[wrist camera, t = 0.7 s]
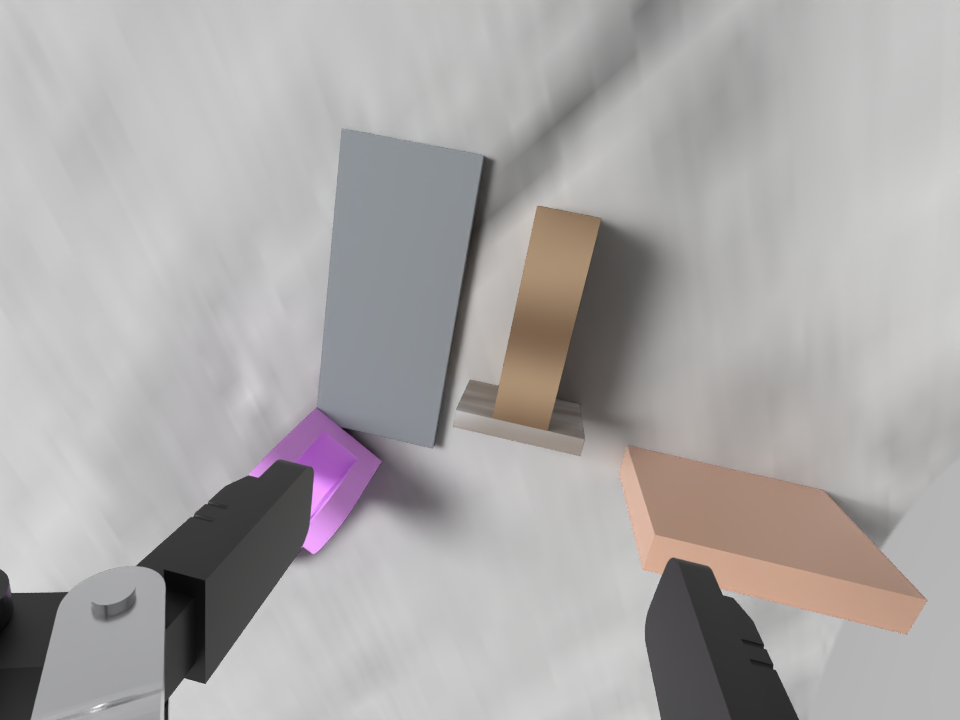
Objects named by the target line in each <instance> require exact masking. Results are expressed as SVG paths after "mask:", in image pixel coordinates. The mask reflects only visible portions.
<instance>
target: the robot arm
mask: <svg viewBox="0 0 960 720" xmlns="http://www.w3.org/2000/svg"><path fill="white" fill-rule="evenodd" d="M313 482H314V470H313V468H312V467H310V466H306V465H302V464H298V463H294V462H290V461H286V460H282V459H279V460H277V461H276V462H274V463H273V464H272V465H271V466H270V467H269V468H268V469H267V470H266V471H265V472H264V473H263V474H262V475H261V476H260V477H259V478H257V477H253V476H246V477H244V478H242V479H240V480H238V481H236V482H233V483H231V484H229V485H227V486H225V487H224V488H223V489H222V490H221V491H219V492H218V493H217V494H216V495H215V496H214V497H213V498H212V499H211V500H209V502H208V504H205V505H204V506H203V507H202V508H200V509H199V510H198V511H197V512H196V513H195V514H194V517H190V518H189V519H188V520H187V521H186V522H185V523H184V524H182V525H181V526H180V527H179V528H178V529H177V530H176V531H175V532H173V533H172V534H171V535H170V536H169V537H168V538H167V539H166V540H164V541H163V542H162V543H161V544H160V545H159V546H158V547H157V548H156V549H154V550H153V551H152V552H151V553H150V554H149V555H148V556H147V557H145V558H144V559H143V560H142V561H141V562H140V563H139V564H138V565H136V566H126V567H118V568H114V569H110V570H106V571H103V572H100V573H98V574H96V575H93V576H91V577H89V578H88V579H86V580H84V581H82V582H81V583H79V584H78V585H77V586H75V587H74V588H73V589H72V590H71V591H69V592H54V593H11V590H10V584H9V579H8V576H7V575H6V573H5V572H4V571H2V570H0V720H169V697H170V696H171V694H172V693H173V692H174V691H175V689H176V688H177V687H178V685H179V684H180V683H181V681H182V680H183V679H184V678H186V679H190V680H193V681H197V682H200V683H204V684H206V682H207V681H208V680H209V678H210V677H211V675H212V674H213V673H214V671H215V670H216V668H217V667H218V665H219V664H220V663H221V661H222V660H223V658H224V657H225V656H226V654H227V653H228V651H229V650H230V649H231V647H232V646H233V644H234V643H235V642H236V640H237V639H238V637H239V636H240V635H241V633H242V632H243V630H244V629H245V627H246V626H247V625H248V623H249V622H250V620H251V619H252V618H253V616H254V615H255V613H256V612H257V611H258V609H259V608H260V606H261V605H262V604H263V602H264V601H265V599H266V598H267V597H268V595H269V594H270V592H271V591H272V589H273V588H274V587H275V585H276V584H277V582H278V581H279V580H280V578H281V577H282V575H283V574H284V573H285V571H286V570H287V568H288V567H289V566H290V564H291V563H292V561H293V560H294V559H295V557H296V556H297V554H298V553H299V551H300V550H301V548H302V546H303V544H304V542H305V539H306V537H307V534H308V530H309V525H310V517H311V505H312V493H313ZM645 642H646V647H647V652H648V657H649V662H650V667H651V672H652V677H653V681H654V686H655V691H656V696H657V701H658V706H659V711H660V716H661V720H799V719H798V717H797V714H796V712H795V710H794V708H793V706H792V704H791V702H790V699H789V697H788V695H787V693H786V691H785V689H784V687H783V684H782V682H781V680H780V678H779V676H778V674H777V672H776V670H773V663H772V661H771V659H770V657H769V654H768V652H767V650H766V649H764V644H763V641H762V639H761V637H760V635H759V633H758V631H757V629H756V626H755V624H754V622H753V620H752V619H751V618H750V617H749V616H748V615H747V613H746V612H745V611H744V610H743V609H742V608H741V606H740V605H739V604H738V603H737V602H736V601H735V599H734V598H731V597H727V596H723V594H722V592H721V590H720V587H719V585H718V583H717V580H716V578H715V575H714V573H713V571H712V569H711V568H710V567H709V566H706V565H702V564H698V563H694V562H690V561H686V560H682V559H678V558H674V557H673V558H670V559H669V561H668V562H667V564H666V566H665V569H664V571H663V574H662V577H661V579H660V582H659V584H658V587H657V589H656V592H655V594H654V597H653V600H652V602H651V605H650V607H649V610H648V613H647V617H646V624H645Z"/></svg>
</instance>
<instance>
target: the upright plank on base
mask: <svg viewBox="0 0 960 720" xmlns="http://www.w3.org/2000/svg"><path fill="white" fill-rule="evenodd" d="M600 222H601V218H597V217H593V216H588V215H583V214H578V213H572V212H567V211H562V210H557V209H552V208H547V207H542V206H537V209H536V214H535V219H534V223H533V228H532V233H531V237H530V242H529V247H528V252H527V256H526V261H525V266H524V270H523V275H522V280H521V285H520V289H519V294H518V299H517V303H516V308H515V313H514V318H513V322H512V327H511V332H510V337H509V341H508V346H507V351H506V355H505V360H504V365H503V370H502V374H501V379H500V384H499V386H496V385H492V384H487V383H483V382H478V381H474V380H470V381H469V383H468V385H467V387H466V389H465V391H464V393H463V396H462V398H461V400H460V402H459V404H458V406H457V408H456V411H455V417H454V422H453V427H456V428H461V429H465V430H469V431H474V432H478V433H482V434H487V435H491V436H495V437H499V438H504V439H508V440H512V441H517V442H521V443H525V444H530V445H534V446H538V447H543V448H547V449H551V450H556V451H560V452H564V453H569V454H573V455H577V456H581V452H582V448H583V445H584V441H585V436H584V429H583V422H582V415H581V408H580V404H577V403H572V402H568V401H563V400H559V399H556V396H557V392H558V388H559V384H560V380H561V376H562V372H563V368H564V364H565V360H566V356H567V352H568V348H569V344H570V340H571V336H572V332H573V328H574V324H575V320H576V316H577V313H578V309H579V305H580V301H581V297H582V293H583V289H584V285H585V281H586V277H587V273H588V269H589V265H590V261H591V257H592V253H593V249H594V245H595V241H596V237H597V233H598V229H599V226H600Z"/></svg>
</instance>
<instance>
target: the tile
mask: <svg viewBox="0 0 960 720" xmlns="http://www.w3.org/2000/svg"><path fill="white" fill-rule="evenodd" d="M619 476H620V480H621V484H622V488H623V492H624V496H625V500H626V504H627V509H628V513H629V517H630V521H631V525H632V529H633V533H634V537H635V541H636V545H637V549H638V553H639V557H640V561H641V565H642V569H643V570H647V571H651V572H655V573H659V574H663V571H664V569H665V566H666V564H667V562H668V561H669V559H670V558H673V557H674V558H678V559H682V560H686V561H690V562H694V563H698V564H702V565H706V566H709V567H710V568H711V569H712V571H713V573H714V575H715V578H716V580H717V583H718V585H719V587H720V589H724V590H728V591H732V592H736V593H740V594H744V595H748V596H752V597H756V598H760V599H764V600H768V601H772V602H776V603H781V604H785V605H789V606H793V607H797V608H801V609H805V610H809V611H813V612H817V613H821V614H825V615H829V616H833V617H837V618H841V619H845V620H849V621H854V622H858V623H862V624H866V625H870V626H874V627H878V628H882V629H887V630H890V631H894V632H898V633H902V634H908V632H909V630H910V629H911V627H912V625H913V624H914V622H915V620H916V618H917V617H918V615H919V613H920V612H921V610H922V608H923V607H924V605H925V604H926V602H927V599H926V598H925V597H924V596H923V595H922V594H921V593H920V592H919V591H918V590H917V589H916V588H915V587H914V585H913V584H912V583H911V582H909V580H908V579H907V578H906V577H905V576H904V575H903V574H902V573H901V572H900V571H899V570H898V569H897V568H896V566H895V565H893V563H892V562H891V561H890V560H889V559H888V558H887V557H886V556H885V555H884V554H883V553H882V552H881V551H880V550H879V549H878V547H877V546H876V545H875V544H874V543H873V542H872V541H871V540H870V539H869V538H868V537H867V536H866V535H865V534H864V533H863V532H862V531H861V529H860V528H859V527H858V526H857V525H856V524H855V523H854V522H853V521H852V520H851V519H850V518H849V517H848V516H847V515H846V514H845V513H844V512H843V510H842V509H841V508H840V507H839V506H838V505H837V504H836V503H835V502H834V501H833V500H832V499H831V498H830V497H829V496H828V495H827V494H826V492H825V491H824V490H820V489H816V488H811V487H807V486H803V485H798V484H794V483H790V482H785V481H781V480H776V479H772V478H768V477H763V476H759V475H755V474H750V473H746V472H741V471H737V470H733V469H728V468H724V467H720V466H715V465H711V464H706V463H702V462H698V461H693V460H689V459H684V458H680V457H676V456H671V455H667V454H663V453H658V452H654V451H649V450H645V449H641V448H636V447H632V446H628V445H627V448H626V451H625V454H624V458H623V461H622V464H621V467H620V470H619Z"/></svg>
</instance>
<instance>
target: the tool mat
mask: <svg viewBox="0 0 960 720" xmlns="http://www.w3.org/2000/svg"><path fill="white" fill-rule="evenodd" d="M484 159H485V156H484V155H479V154H474V153H469V152H463V151H458V150H453V149H448V148H442V147H437V146H432V145H426V144H421V143H416V142H411V141H405V140H400V139H395V138H390V137H384V136H379V135H374V134H369V133H363V132H358V131H353V130H347V129H342V132H341V143H340V154H339V165H338V177H337V188H336V199H335V210H334V222H333V233H332V244H331V255H330V267H329V278H328V289H327V300H326V312H325V323H324V334H323V345H322V357H321V368H320V379H319V390H318V402H317V408H318V409H319V410H320V411H321V412H322V413H324V414H325V415H326V416H327V417H329V418H330V419H331V420H332V421H333V422H335V423H336V424H337V425H338V426H340V427H343V428H347V429H352V430H356V431H360V432H364V433H369V434H373V435H377V436H381V437H386V438H390V439H394V440H398V441H403V442H407V443H411V444H415V445H420V446H424V447H428V448H432V449H433V447H434V445H435V439H436V433H437V428H438V422H439V416H440V411H441V405H442V399H443V393H444V388H445V382H446V376H447V371H448V365H449V359H450V353H451V348H452V342H453V336H454V331H455V325H456V319H457V313H458V308H459V302H460V296H461V291H462V285H463V279H464V273H465V268H466V262H467V256H468V250H469V245H470V239H471V233H472V228H473V222H474V216H475V210H476V205H477V199H478V193H479V188H480V182H481V176H482V170H483V165H484Z"/></svg>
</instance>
